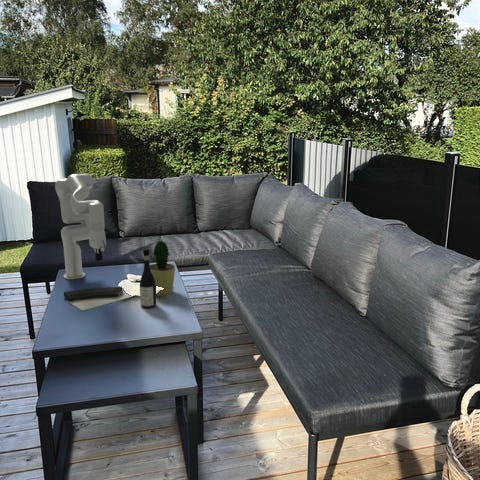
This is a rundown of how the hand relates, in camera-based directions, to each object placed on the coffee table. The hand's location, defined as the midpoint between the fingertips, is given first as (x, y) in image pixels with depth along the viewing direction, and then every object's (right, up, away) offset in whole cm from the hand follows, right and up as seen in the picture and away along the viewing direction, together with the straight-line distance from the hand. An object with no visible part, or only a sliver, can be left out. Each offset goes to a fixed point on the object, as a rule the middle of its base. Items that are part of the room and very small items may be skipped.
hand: (99, 260), depth 254 cm
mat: (+1, -21, +3) cm, 21 cm away
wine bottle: (+27, -23, -7) cm, 37 cm away
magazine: (-6, -17, +9) cm, 20 cm away
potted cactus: (+31, -19, +13) cm, 39 cm away
